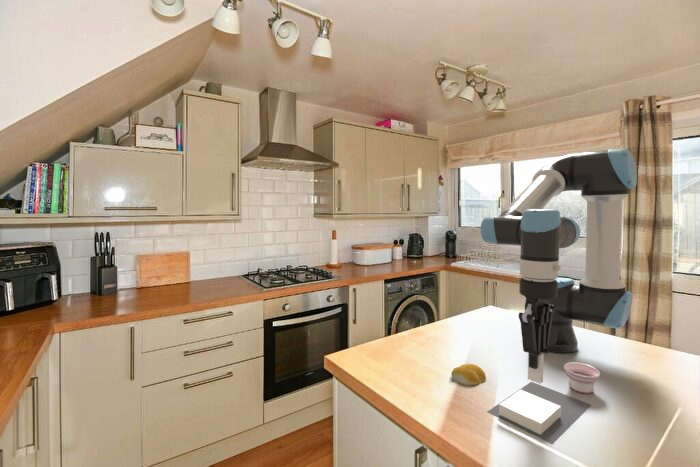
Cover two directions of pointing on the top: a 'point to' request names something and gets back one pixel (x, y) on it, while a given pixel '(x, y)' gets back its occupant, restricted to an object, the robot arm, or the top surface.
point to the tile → (530, 411)
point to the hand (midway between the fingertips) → (535, 380)
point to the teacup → (581, 376)
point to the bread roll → (468, 374)
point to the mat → (569, 405)
